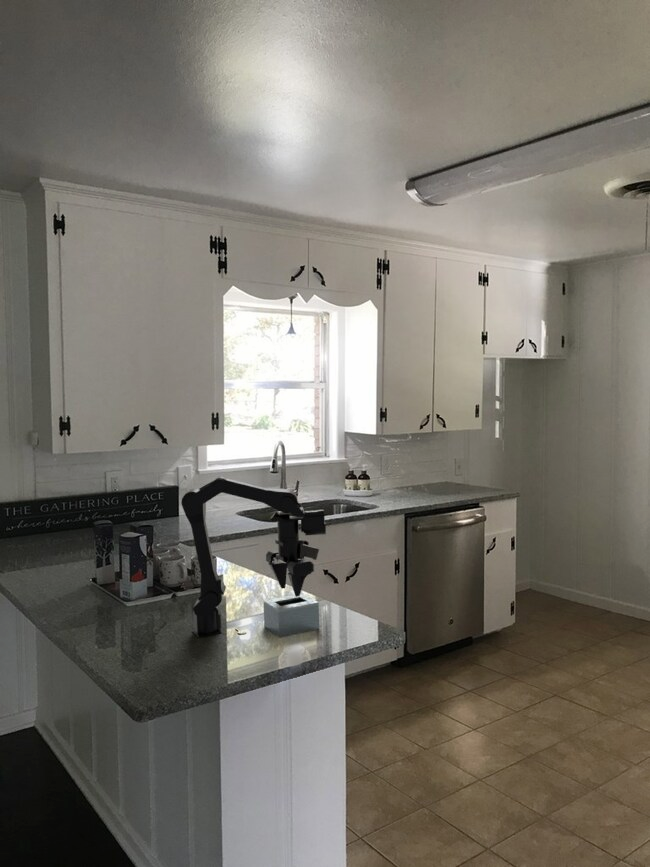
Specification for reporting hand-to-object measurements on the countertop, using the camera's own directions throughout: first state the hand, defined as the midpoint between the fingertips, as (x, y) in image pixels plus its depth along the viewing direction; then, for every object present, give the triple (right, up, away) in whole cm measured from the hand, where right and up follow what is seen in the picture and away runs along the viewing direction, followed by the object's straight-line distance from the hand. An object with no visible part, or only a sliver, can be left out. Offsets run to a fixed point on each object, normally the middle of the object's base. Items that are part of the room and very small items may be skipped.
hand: (290, 592), depth 202 cm
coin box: (0, -10, +1) cm, 10 cm away
